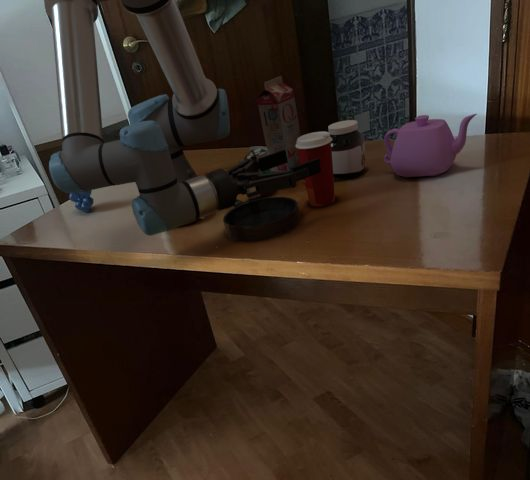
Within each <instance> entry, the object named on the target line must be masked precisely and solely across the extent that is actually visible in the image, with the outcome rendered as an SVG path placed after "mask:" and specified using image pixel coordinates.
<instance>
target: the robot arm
mask: <svg viewBox="0 0 530 480" xmlns="http://www.w3.org/2000/svg"><path fill="white" fill-rule="evenodd" d="M43 1H44V3H43V4H44V9H45V12H46V14H47V15H48V17H49V18H50V19H51V27H52V37H53V38H52V40H53V51H54V63H55V75H56V85H57V86H56V87H57V97H58V110H59V121H60V131H61V132H60V133H61V148H62V149H61V150H59V151H57V152H54V153H52V155H50V160H49V161H48V170H49V174H50V177H51V179H52V181H53V184H54V185H55V186H56V187H57V188H58V190H60V191H61V192H63V193H65V194H70V193H78V192H88V191H89V190H92V191H94V190H97V189H98V190H99V189H103V188H108V187H113V186H120V185H125V184H132V183H135V185H136V187H137V191H138V193H139V195H138V196H137V197H135V198H132V200H131V208H132V213H133V216H134V218H135V220H136V223H137V225H138V227H139V228H140V230H141V232H142V233H144V235H146V236H149V237H150V236H155V235H158V234H161V233H164V232H170V231H171V230H173V229H177V228H178V227H180V226H181V225H183V226H185V225H184V224H186V223H189V222H191V221H194V220H196V221H198V220H199V219H201V220H206V217H207V216H210V215H212V214H214V213H215V214H216V213H217V211H219V212H222V211H223V210H226V209H229V208H232V207H234V205H235V203H236V199H237V197H238V195H246V197H247V198H248V197H252V196H255V195H259V194H263V193H268V192H273V193H274V192H278V191H283V190H286V189H287V190H288V189H294V188H296V187H297V186H298V183H297V182H300V181H302V180H304V179H305V178H307V177H310V176H313V175H315V174H318V173H321V166H320V159H319V158H316V159H314V160H311V161H308V162H305V163H303V164H300V165H297V166H294V167H292V168H290V170H288V171H281V172H271V173H267V174H259V173H258V171H259V168H260V171H262V172H263V171H265V170H268V169H270V170H271V168H274V167H277V166H279V165H282V164H285V163H288V161H287V155H286V150H281V151H278V152H275V153H273V154H270V155H267V156H264V157H261V158H258V161H257V157H256V156H251V159H252V160H251V159H247V160H245V161H243V162H241V163H239V162H238V164H236V165H235V166H233V167H231V168H229V169H227V170H225V169H223V168H218V169H214V170H212V171H209V172H207V173H206V174H205V175H204V174H200V175H197V173H196V171H195V170H194V168H193V167H192V165H191V163H190V162H189V160H188V159H187V157H186V155H185V152H184V148H183V147H187V146H193V145H199V144H205V143H210V142H217V141H218V140H221V139H225V138H227V137H228V136H229V135H230V132H231V119H230V110H229V103H228V101H229V100H228V96H227V92H226V90H225V89H224V88H217V87H216V84H215V83H214V81H212V80H211V79H209V78H206V75H205V73H204V70H203V67H202V65H201V63H200V60H199V58H198V55H197V52H196V50H195V47H194V44H193V42H192V39H191V37H190V35H189V32H188V30H187V26H186V24H185V21H184V19H183V17H182V14H181V12H180V9H179V6H178V3H177V1H176V0H120V2H121V3H122V6H123V8H124V9H125V10H126V11H127V12H128V13H130V14H132V15H134V16H136V18H137V20H138V22H139V24H140V26H141V28H142V31H143V32H144V34H145V36H146V38H147V40H148V43H149V45H150V47H151V49H152V51H153V54H154V55H155V57H156V59H157V61H158V63H159V65H160V67H161V70H162V72H163V74H164V76H165V78H166V79H167V82H168V84H169V86H170V89H171V90H172V93H173V94H172V98H171V99H170V97H169V95H168V94H166V93H163V94H159V95H157V96H154V97H152V98H149V99H146V100H144V101H142V102H140V103H138V104H135V105H134V106H132V107H131V108H130V109H129V110H128V111H127V118H128V122H129V125H126V126H124V127H122V128H121V129H120V130H119V139H116V140H112V141H107V142H104V132H103V131H104V130H103V119H102V107H101V97H100V96H101V95H100V85H99V84H100V82H99V71H98V60H97V59H98V58H97V48H96V46H97V45H96V36H95V22H96V21H97V19H98V17H99V5H100V4H101V3H102V2H105V1H107V2H108V0H43ZM197 219H198V220H197ZM194 222H195V221H194ZM181 227H182V226H181Z"/></svg>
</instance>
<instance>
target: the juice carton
mask: <svg viewBox="0 0 530 480" xmlns="http://www.w3.org/2000/svg"><path fill="white" fill-rule="evenodd" d="M263 84H264V90H263V91H262V92H261V93H260V94H259V95H258V96H257V97H256V101H257V105H258V111H259V116H260V122H261V127H262V131H263V136H264V142H265V147H266V148H267V149H268V150H269V152H270V154H273V153H275V152H278V151H281V150H286V155H287V161H288V163H285V164H282V165H279V166H277V167H274V168H271V169H270V171H271V172H272V173H274V172H281V171H288V170H290V168H292V167H294V166H297V165H300V164H301V162H300V158H299V153H298V149H297V148H296V146H295V145H296V144H297V139H298V138H299V137H301V136H302V135H301V130H300V124H299V119H298V118H299V117H298V110H297V105H296V104H297V103H296V97H295V92H294V89H293V88H292V87H290V85H288V84H286V83H284V82H283V76H282V75H279V76H276V77H275V78H271V79H270V80H267V81H264V82H263Z"/></svg>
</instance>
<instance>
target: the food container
mask: <svg viewBox="0 0 530 480" xmlns="http://www.w3.org/2000/svg"><path fill="white" fill-rule="evenodd" d="M267 155H270V152H269V150H268V149H267V148H266V146H264V145H263V146H261V145H255V146H249V153H248V154H246V155H244V158H243V160H238V164H239V163H241V162H243V161H245V160H247V159H251V156H256V157H257V161H258V158H261V157H264V156H267ZM251 160H252V159H251ZM258 173H259V174H267V173H272V171H271V169H268V170H265V171H263V172H262V171H260V168H259V171H258ZM273 193H274V191H273V192H268V193H263V194H259V195H255V196H252V197H247V199H248V201H253V200H257V199H262V198H268V197H269V196H271V195H272V194H273Z"/></svg>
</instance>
